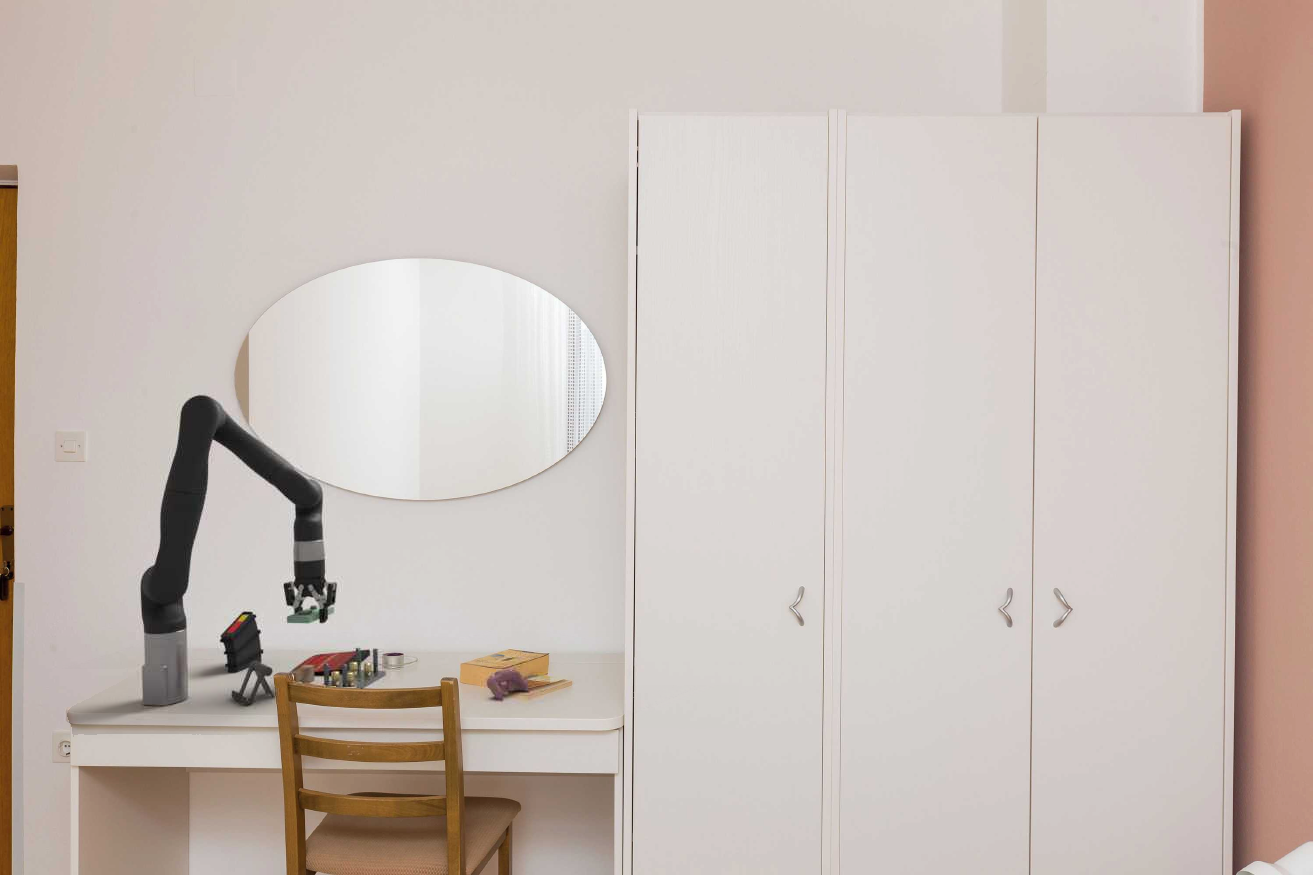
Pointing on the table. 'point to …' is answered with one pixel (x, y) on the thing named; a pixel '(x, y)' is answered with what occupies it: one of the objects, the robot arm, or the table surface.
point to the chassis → (354, 673)
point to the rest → (304, 674)
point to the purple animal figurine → (511, 680)
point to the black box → (242, 642)
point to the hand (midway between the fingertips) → (311, 622)
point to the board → (307, 615)
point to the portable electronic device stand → (261, 672)
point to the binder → (333, 661)
